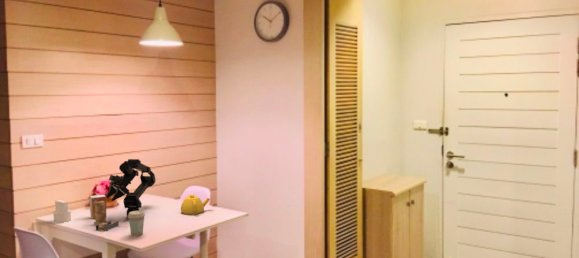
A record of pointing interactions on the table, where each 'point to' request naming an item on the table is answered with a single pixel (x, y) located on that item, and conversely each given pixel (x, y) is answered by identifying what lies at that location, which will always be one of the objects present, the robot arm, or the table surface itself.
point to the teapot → (193, 205)
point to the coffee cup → (136, 222)
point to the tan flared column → (100, 212)
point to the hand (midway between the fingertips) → (109, 199)
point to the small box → (92, 204)
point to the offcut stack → (101, 226)
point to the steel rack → (109, 225)
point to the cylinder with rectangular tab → (61, 212)
